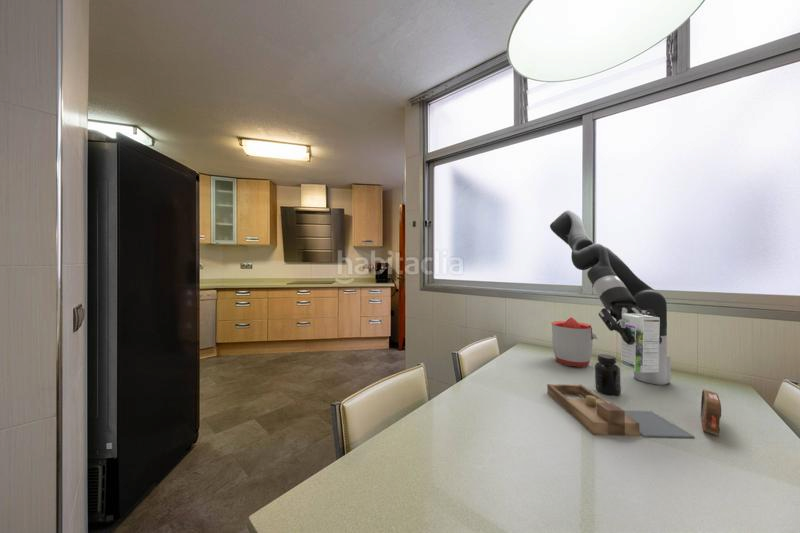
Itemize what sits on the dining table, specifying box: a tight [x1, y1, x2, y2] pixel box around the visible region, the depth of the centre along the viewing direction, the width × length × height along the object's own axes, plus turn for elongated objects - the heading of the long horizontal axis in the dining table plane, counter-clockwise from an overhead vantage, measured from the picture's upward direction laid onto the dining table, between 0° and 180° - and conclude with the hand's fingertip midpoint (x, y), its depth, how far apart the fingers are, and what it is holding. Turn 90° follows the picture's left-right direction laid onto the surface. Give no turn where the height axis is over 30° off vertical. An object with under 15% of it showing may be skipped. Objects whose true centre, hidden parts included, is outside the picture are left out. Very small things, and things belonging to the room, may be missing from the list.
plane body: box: [546, 383, 641, 436], centre depth 79 cm, size 11×23×6 cm, turn 178°
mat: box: [624, 410, 696, 439], centre depth 73 cm, size 12×12×1 cm
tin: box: [700, 389, 722, 436], centre depth 71 cm, size 15×3×8 cm, turn 134°
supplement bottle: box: [594, 353, 622, 397], centre depth 92 cm, size 7×7×12 cm
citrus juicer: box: [551, 317, 599, 368], centre depth 121 cm, size 16×17×20 cm
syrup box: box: [620, 313, 660, 373], centre depth 74 cm, size 6×6×14 cm
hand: (644, 343), depth 72 cm, fingers closed on syrup box, 6 cm apart
